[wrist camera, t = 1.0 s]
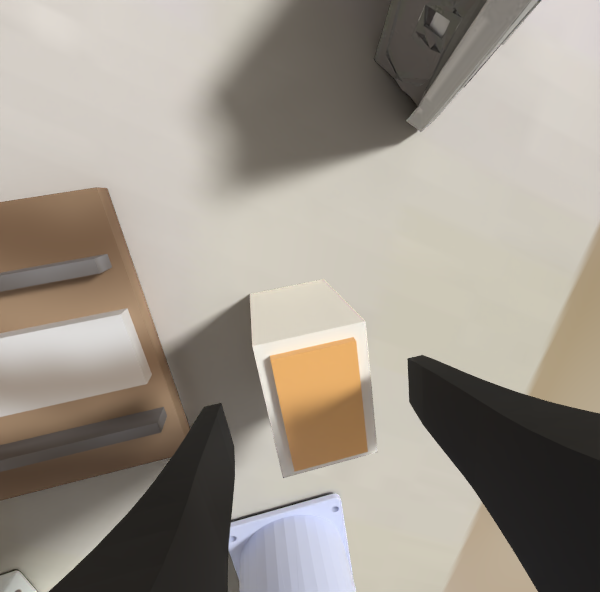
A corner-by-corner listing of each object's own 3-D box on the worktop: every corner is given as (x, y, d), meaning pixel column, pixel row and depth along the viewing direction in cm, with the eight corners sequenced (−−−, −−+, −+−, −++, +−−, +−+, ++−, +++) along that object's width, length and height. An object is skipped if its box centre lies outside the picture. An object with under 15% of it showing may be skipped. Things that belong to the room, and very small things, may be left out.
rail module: (336, 373, 18) (380, 458, 12) (270, 389, 18) (284, 484, 12) (323, 278, 16) (368, 324, 10) (249, 293, 16) (252, 350, 10)
